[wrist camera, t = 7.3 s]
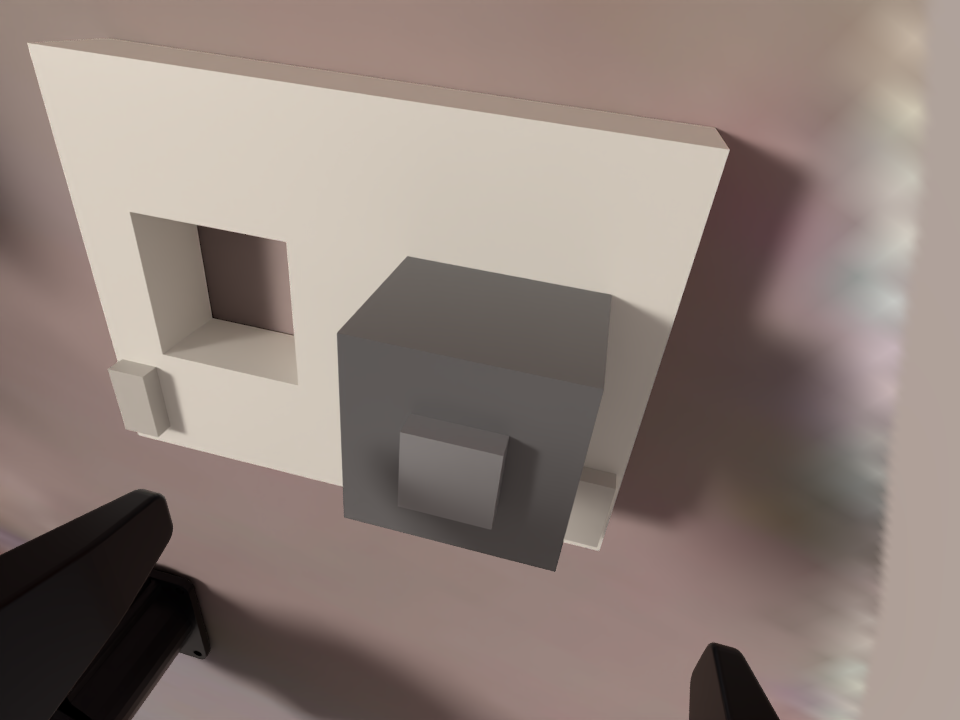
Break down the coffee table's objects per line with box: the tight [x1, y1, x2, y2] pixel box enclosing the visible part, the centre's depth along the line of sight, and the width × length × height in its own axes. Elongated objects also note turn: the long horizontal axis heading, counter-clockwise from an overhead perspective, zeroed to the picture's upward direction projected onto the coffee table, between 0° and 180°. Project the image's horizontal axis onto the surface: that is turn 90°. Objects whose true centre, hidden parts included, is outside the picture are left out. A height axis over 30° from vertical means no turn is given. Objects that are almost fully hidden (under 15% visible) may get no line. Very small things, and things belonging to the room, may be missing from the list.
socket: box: [27, 38, 730, 551], centre depth 16 cm, size 12×16×3 cm
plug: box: [337, 256, 612, 572], centre depth 14 cm, size 5×5×7 cm
